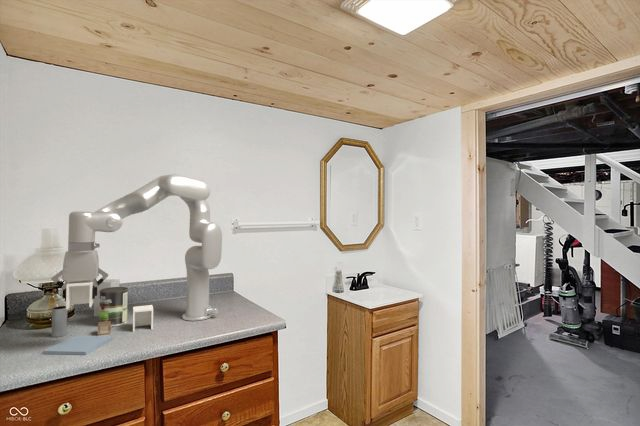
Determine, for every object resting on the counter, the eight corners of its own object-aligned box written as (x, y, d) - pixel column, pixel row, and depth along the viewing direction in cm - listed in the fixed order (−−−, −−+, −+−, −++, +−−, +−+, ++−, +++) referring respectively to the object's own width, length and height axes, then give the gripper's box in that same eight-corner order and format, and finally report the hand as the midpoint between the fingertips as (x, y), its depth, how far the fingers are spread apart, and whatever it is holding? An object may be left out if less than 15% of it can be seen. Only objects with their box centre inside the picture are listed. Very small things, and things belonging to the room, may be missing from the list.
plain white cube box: (132, 326, 139) (133, 306, 139) (152, 324, 142) (152, 304, 142) (132, 331, 133) (133, 311, 133) (152, 329, 136) (153, 308, 136)
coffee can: (111, 328, 136) (111, 292, 136) (92, 325, 140) (93, 290, 140) (133, 321, 146) (134, 287, 146) (115, 318, 149) (116, 285, 150)
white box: (69, 304, 119) (69, 281, 119) (93, 302, 123) (93, 279, 123) (65, 309, 113) (66, 284, 113) (91, 307, 116) (91, 283, 117)
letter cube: (98, 332, 132) (98, 322, 132) (110, 331, 134) (110, 320, 134) (97, 336, 128) (97, 325, 128) (110, 334, 130) (110, 323, 130)
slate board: (112, 339, 125) (112, 336, 125) (85, 354, 111) (85, 351, 111) (74, 338, 125) (74, 335, 125) (42, 353, 111) (42, 350, 111)
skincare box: (120, 313, 157) (121, 279, 157) (110, 317, 150) (110, 282, 150) (103, 312, 158) (103, 278, 158) (92, 316, 151) (93, 281, 151)
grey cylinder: (54, 338, 125) (55, 309, 125) (49, 335, 127) (49, 307, 127) (69, 334, 129) (69, 307, 129) (63, 332, 131) (64, 305, 131)
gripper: (111, 245, 126) (110, 294, 125) (52, 247, 117) (50, 299, 117) (110, 247, 119) (109, 299, 119) (47, 249, 111) (46, 304, 110)
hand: (80, 298), depth 118 cm, fingers closed on white box, 7 cm apart
